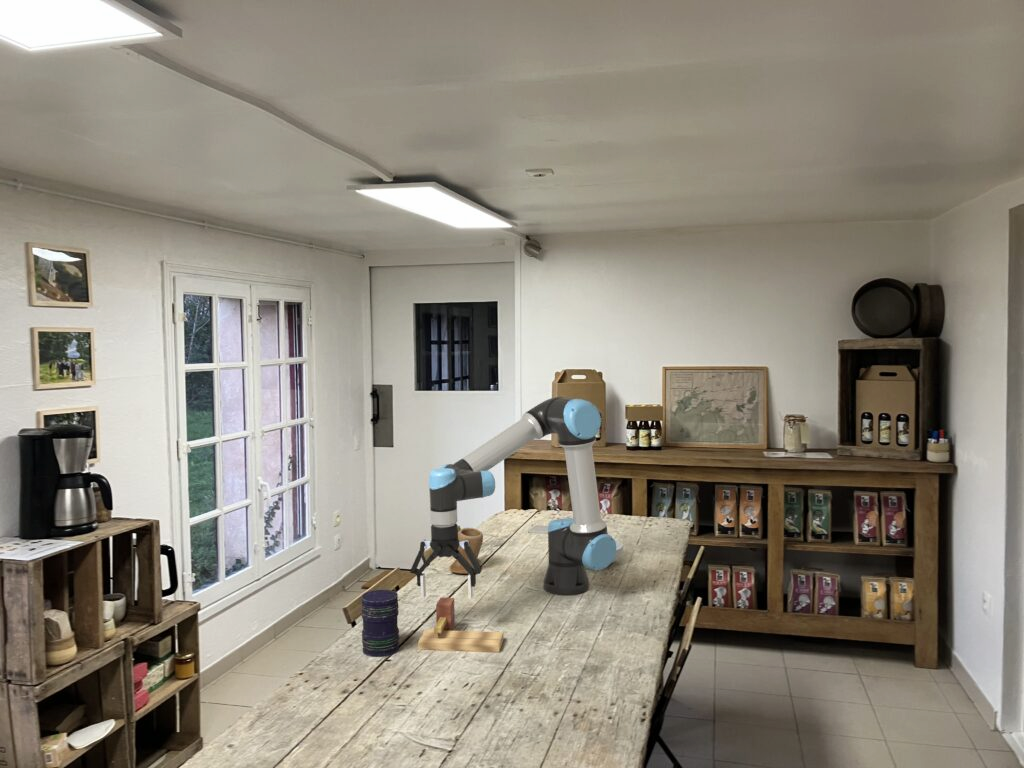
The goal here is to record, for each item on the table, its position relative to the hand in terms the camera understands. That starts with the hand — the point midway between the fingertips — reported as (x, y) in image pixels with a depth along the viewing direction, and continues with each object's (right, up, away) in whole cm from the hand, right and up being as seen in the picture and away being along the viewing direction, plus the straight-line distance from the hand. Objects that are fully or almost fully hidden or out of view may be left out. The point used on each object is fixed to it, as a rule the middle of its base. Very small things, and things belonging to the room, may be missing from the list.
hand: (447, 597), depth 226 cm
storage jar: (-17, -11, -12) cm, 23 cm away
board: (+5, -11, -8) cm, 14 cm away
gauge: (-1, -10, -3) cm, 11 cm away
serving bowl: (+49, -5, +67) cm, 83 cm away
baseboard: (+42, -3, +110) cm, 118 cm away
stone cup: (+3, -6, +59) cm, 60 cm away
